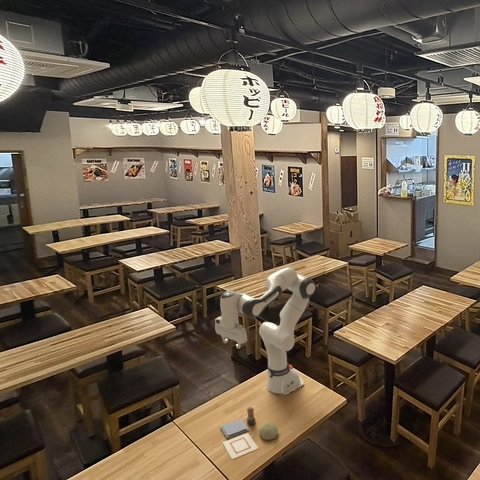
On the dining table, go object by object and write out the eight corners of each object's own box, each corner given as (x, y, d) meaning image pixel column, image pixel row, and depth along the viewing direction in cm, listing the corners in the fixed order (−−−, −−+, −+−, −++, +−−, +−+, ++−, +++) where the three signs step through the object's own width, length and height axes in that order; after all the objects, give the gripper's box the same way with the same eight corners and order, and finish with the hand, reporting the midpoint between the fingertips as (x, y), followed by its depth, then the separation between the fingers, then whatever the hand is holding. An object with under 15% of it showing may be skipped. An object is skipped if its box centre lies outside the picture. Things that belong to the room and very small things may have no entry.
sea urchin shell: (254, 429, 204) (264, 416, 205) (265, 434, 208) (274, 422, 209) (262, 441, 196) (272, 427, 197) (273, 446, 200) (282, 433, 200)
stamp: (253, 418, 215) (252, 404, 212) (256, 423, 211) (256, 408, 209) (245, 421, 213) (244, 406, 211) (249, 426, 209) (248, 411, 207)
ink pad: (241, 420, 214) (241, 418, 214) (248, 431, 206) (248, 428, 206) (220, 428, 209) (220, 425, 209) (227, 439, 201) (226, 436, 201)
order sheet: (247, 433, 205) (247, 432, 205) (258, 448, 194) (258, 448, 194) (222, 442, 199) (222, 442, 199) (231, 459, 189) (231, 458, 189)
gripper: (248, 324, 206) (250, 348, 209) (220, 314, 219) (222, 337, 223) (240, 329, 201) (242, 353, 205) (212, 318, 215) (214, 342, 218)
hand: (231, 345), depth 214 cm, fingers open, 8 cm apart
